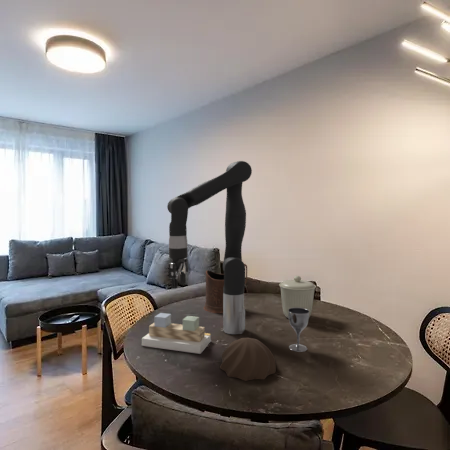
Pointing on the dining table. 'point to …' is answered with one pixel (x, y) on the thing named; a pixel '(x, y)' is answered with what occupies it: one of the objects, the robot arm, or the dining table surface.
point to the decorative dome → (248, 360)
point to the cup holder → (215, 291)
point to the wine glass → (298, 325)
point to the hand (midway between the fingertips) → (179, 285)
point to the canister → (297, 294)
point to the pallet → (177, 332)
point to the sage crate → (190, 323)
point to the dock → (177, 343)
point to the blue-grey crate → (162, 320)
